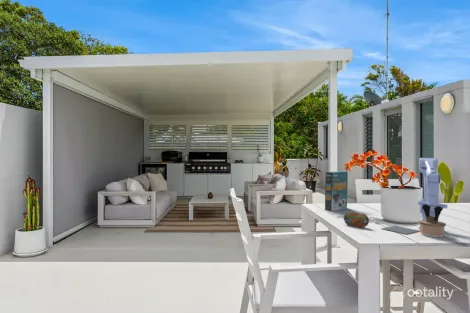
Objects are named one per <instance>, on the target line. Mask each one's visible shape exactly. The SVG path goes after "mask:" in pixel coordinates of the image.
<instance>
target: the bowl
mask: <svg viewBox="0 0 470 313" xmlns="http://www.w3.org/2000/svg"><path fill="white" fill-rule="evenodd" d="M419 227H420V228H419V231H420V235H422V236H425V237H430V238H443V237H444V235H445V226H430V225H424V224H420V223H419Z"/></svg>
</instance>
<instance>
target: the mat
mask: <svg viewBox="0 0 470 313" xmlns="http://www.w3.org/2000/svg"><path fill="white" fill-rule="evenodd" d="M381 230H383V231H389V232H393V233H398V234H401V235H407V236H408V235H411V234H415V233H419V232H420V229H419V230H417V229H413V228H408V227H404V226H399V225H392V226H386V227H383V228H381ZM420 233H421V232H420Z"/></svg>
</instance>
